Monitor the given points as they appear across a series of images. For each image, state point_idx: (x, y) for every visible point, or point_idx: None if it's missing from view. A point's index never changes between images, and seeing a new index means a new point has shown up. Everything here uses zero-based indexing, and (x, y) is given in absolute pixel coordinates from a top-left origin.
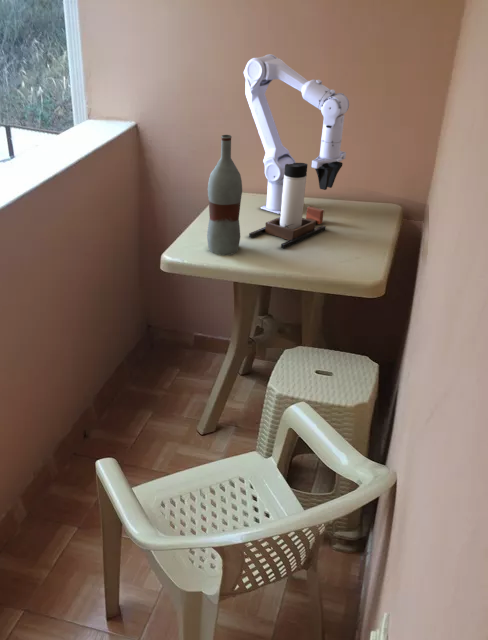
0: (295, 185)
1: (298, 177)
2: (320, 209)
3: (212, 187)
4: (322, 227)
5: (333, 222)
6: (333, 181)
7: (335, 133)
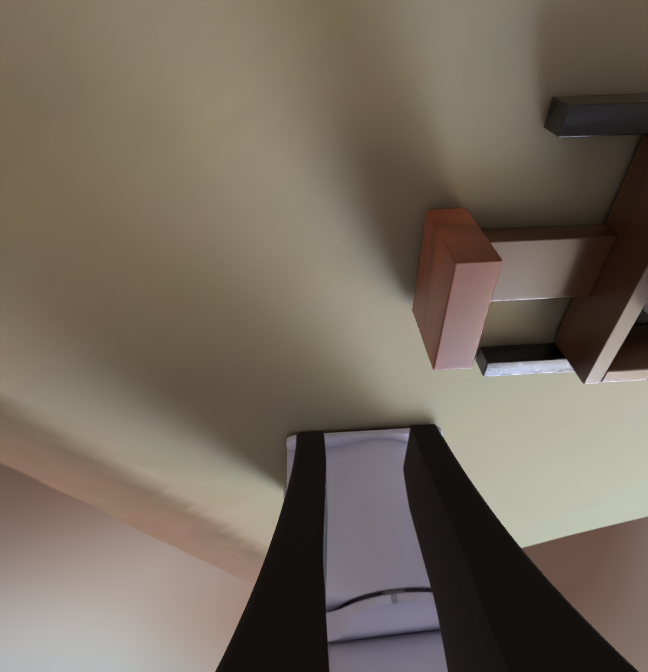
0: None
1: None
2: (461, 286)
3: None
4: (614, 107)
5: (343, 164)
6: (310, 492)
7: None
